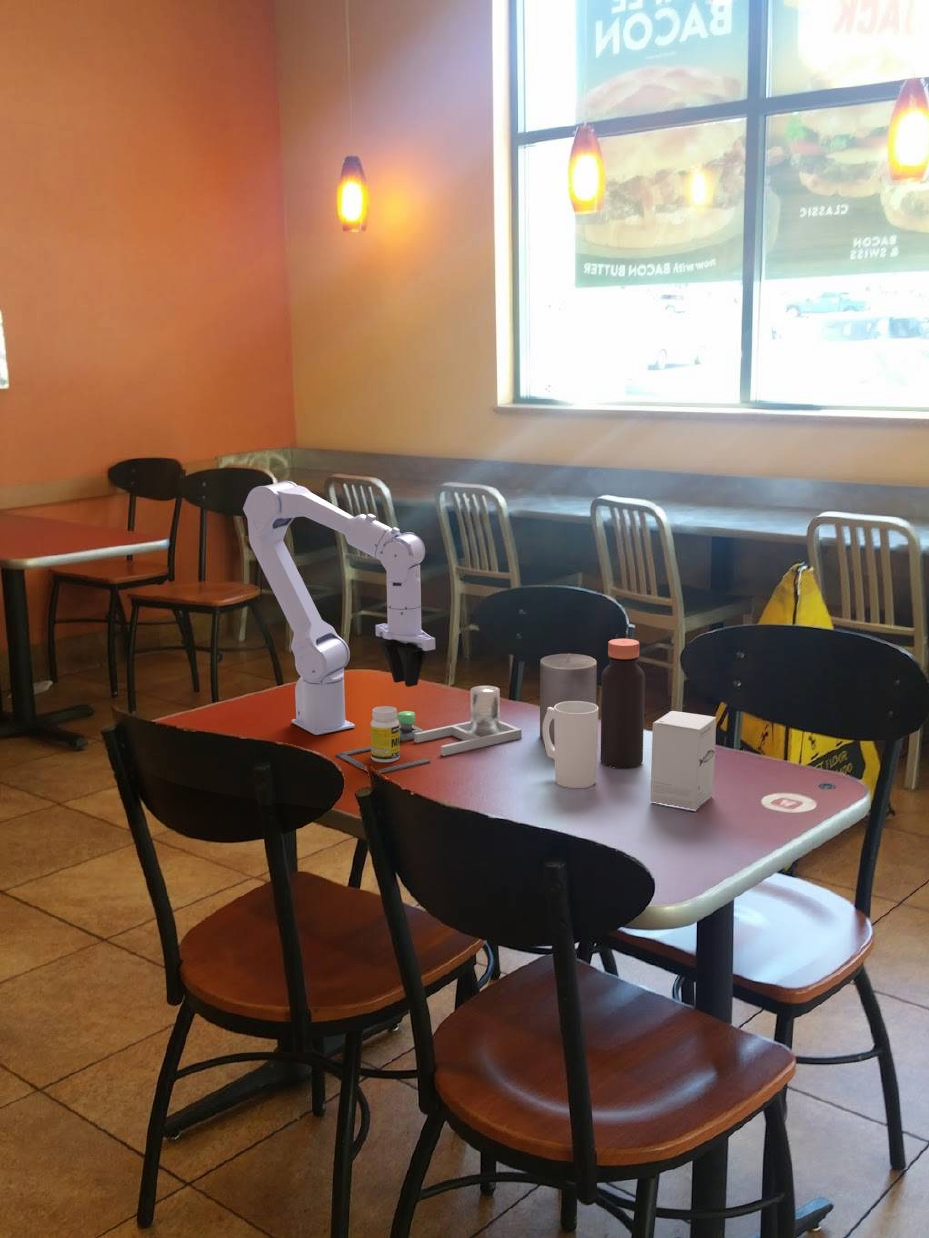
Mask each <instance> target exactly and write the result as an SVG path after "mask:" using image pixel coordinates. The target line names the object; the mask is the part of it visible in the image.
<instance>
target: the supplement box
mask: <svg viewBox="0 0 929 1238" xmlns="http://www.w3.org/2000/svg"><path fill="white" fill-rule="evenodd" d="M716 731H717V717H716V716H712V715H705V714H698V713H690V712H684V711H676V710H670V711H668V713H666V714H664V715H663V716H661V717H660V718H658V719H657V720H655V721H654V722H653V723H652V731H651V732H652V739H651V740H652V741H651V768H650V769H651V770H650V778H651V779H650V799H649V800H650V801H651V802H656V803H662V804H667V805H674V806H679V807H684V808H690V809H697V808H698V807H699V806H700V805H701V804H702V803H703V802H704V801H705V800H707V799H708V798H709V797H710V796H711V795H713V796H714V783H715V781H714V780H715V759H716V757H715V756H716V733H717V732H716Z"/></svg>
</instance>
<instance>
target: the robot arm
mask: <svg viewBox="0 0 929 1238" xmlns="http://www.w3.org/2000/svg"><path fill="white" fill-rule="evenodd" d="M242 510H243V512H244V514H245V516H246V518H247V528H248V529H247V530H248V542H249V544H250V548H251V549H252V551H253V554H254V555H255V557H256V560H257V561H258V563H259V565H260V567H261V570H262V571H263V573H264V576H265V578H266V580H267V582H268V584H269V585H270V588H271V590H272V592H273V594H274V596H275V597H276V600H277V602H278V604H279V606H280V608H281V610H282V612H283V614H284V616H285V618H286V620H287V622H288V625H289V627H290V629H291V630H292V632H293V635H292V636H293V637H292V641H291V645H290V649H291V650H292V653H293V656H294V665H295V669H296V671H297V673H298V675H299V676H300V677H299V678H298V680H297V681H296V684H295V689H294V690H295V691H294V695H295V712H296V713H295V717H296V718H295V719H294V718H293V719H291V723H293V724H294V725H296V726H298V727H300V728H301V729H304V730H305V731H306V732H307V731H308V732H309V733H311V734H313V735H315V736H319V735H324V734H328V733H333V732H338V731H344V730H347V729H348V730H349V729H351V728H352V729H353V728H355V727H356V724H354V723H353V722H350V721H349V720H346V702H345V671H344V670H345V669H344V668H345V667H346V666H347V665H348V663H349V661H350V659H351V658H350V657H351V656H350V655H351V653H350V648H349V646H348V644H347V643H346V641H345V640H344V639H343V638H341V637H340V636H339V635H338V634H337V632H336V630H335V628H334V627H333V626H332V625H331V624H329V623H327V622H326V621H325V620H323V619H322V617H321V615H320V613H319V611H318V609H317V607H316V604H315V603H314V601H313V599H312V597H311V594H310V592H309V590H308V589H307V586H306V585H305V582H304V580H303V578H302V576H301V574H300V573H299V571H298V568H297V565H296V564H295V562H294V560H293V558H292V556H291V554H290V552H289V550H288V547H287V546H286V544H285V542H284V539H285V535H286V533H287V529H288V527H289V526H290V525H291V523H292V522H293V520H294V519H295V518H298V517H299V518H300V517H305V518H307V519H309V520H312V521H314V522H316V523H318V524H321V525H323V526H325V527H327V528H330V529H331V530H332V529H333V530H334V531H336V532H339V533H341V534H342V535H344V537H345V540H346V543H347V544H348V545H349V546H352V547H353V548H355V549H357V550H359V551H361V552H363V553H365V554H367V555H369V556H371V557H373V558H374V559H377V560H379V561H380V562H381V563H380V564H381V565H382V566H383V568H384V569H385V571H386V609H387V610H386V611H387V612H386V615H387V617H386V618H387V623H384V622H383V623H380V624H375V636H376V637H382V638H383V639H386V640H385V641H382V642H380V643H379V646H380V649H381V651H383V654H384V656H385V658H386V660H387V663H388V666H389V669H390V673H391V675H392V681H393V682H394V683H397V684H398V683H401V682H404V684H405V685H404V686H405V687H407V688H409V687H414V686H418V684H419V678H420V675H421V671H422V669H423V668H422V667H423V665H424V662H425V660H426V657H427V656H428V654H429V652H430V651H432V650H436V637H433V636H431V635H430V634H427V632H425V631H424V630H423V629H422V597H421V596H422V591H421V590H422V588H421V587H422V586H421V564H420V563H422V562H423V560H424V559H425V555H426V548H425V543H424V542H423V540H422V539H421V538H420V537H419V536H417V535H416V534H415V533H414V532H409V531H408V532H407V531H406V532H403V533H401V532H400V531H401V529H400V528H397V527H396V526H394V527H392V528H391V527H390V526H389V525H386V524H384V523H382V522H380V521H378V520H376V519H377V516H376V515H374V514H372V513H368V514H364V513H361V514H357V515H356V516H353V515H351V514H350V513H348V512H346V511H344V510H342V509H341V508H339V507H337V506H336V505H334V504H333V503H330V502H328V501H327V500H325V499H323V498H322V497H321V496H318V495H316V494H315V493H312V492H311V491H310V490H309V489H308V488H307V487H305V486H302V485H298V484H296V483H295V482H294V481H291V480H290V481H289V480H282V481H280V482H277V483H272V484H267V485H260V486H256V487H253V488H252V489H251V490H250V492H249V493H248V495H247V497H246V499H245V502H244V504H243V507H242Z"/></svg>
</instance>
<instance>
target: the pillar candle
mask: <svg viewBox="0 0 929 1238" xmlns="http://www.w3.org/2000/svg"><path fill="white" fill-rule="evenodd" d="M539 662H540V663H539V664H540V667H539V669H540V670H539V679H540V680H539V739H540V740H541V741H542V742H544V739H543V731H542V728H543V721H544V718H545V715H546V713H547V708H548V707H552V708H554V706H555V705H556V704H558V703H561V702H567V701H583V702H589V703H593V704H595V705H597V682H598V681H597V670H598V669H597V668H598V667H597V666H598V665H597V660H596V659H595V658H593V657H592V656H589V655H585V654H579V653H570V652H568V653H557V654H551V655H546V656H544V657H542V658H541V659H540V661H539ZM549 734H550V739H551V742H552V744H553V746H555V740H554V718H553V719H552V720H551V722H550V725H549Z"/></svg>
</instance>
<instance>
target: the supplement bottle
mask: <svg viewBox="0 0 929 1238" xmlns="http://www.w3.org/2000/svg"><path fill="white" fill-rule="evenodd" d="M371 713H372V719H371V721H370V723H369V724H370V746H371V751H370V758H371V760H372V761H374V762H376V763H393V762H396V761H398V760H399V759H400V757H401V755H400V754H401V750H400V749H401V747H400V742H401V740H400V736H399V726H400V724H399V721H398V710H397V708H396V707H395V706H389V705H381V706H376V707H373V708H372V712H371Z"/></svg>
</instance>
